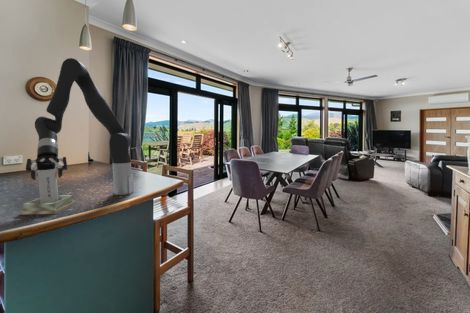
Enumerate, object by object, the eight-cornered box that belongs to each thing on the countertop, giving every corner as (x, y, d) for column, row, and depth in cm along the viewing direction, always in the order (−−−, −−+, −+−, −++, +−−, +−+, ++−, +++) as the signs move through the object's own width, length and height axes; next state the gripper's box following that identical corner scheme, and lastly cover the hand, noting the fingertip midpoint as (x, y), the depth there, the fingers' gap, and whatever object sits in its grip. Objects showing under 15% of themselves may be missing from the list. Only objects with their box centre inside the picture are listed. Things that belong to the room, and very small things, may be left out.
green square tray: (76, 203, 109) (75, 194, 109) (55, 213, 95) (54, 204, 95) (45, 203, 108) (45, 195, 108) (20, 214, 94) (19, 204, 94)
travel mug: (46, 203, 105) (42, 160, 102) (62, 203, 105) (58, 160, 103) (36, 208, 98) (31, 162, 96) (52, 207, 99) (48, 162, 97)
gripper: (26, 145, 101) (23, 174, 93) (65, 144, 109) (66, 171, 101) (29, 155, 106) (27, 184, 98) (67, 154, 114) (68, 180, 106)
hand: (47, 177), depth 99 cm, fingers open, 8 cm apart
